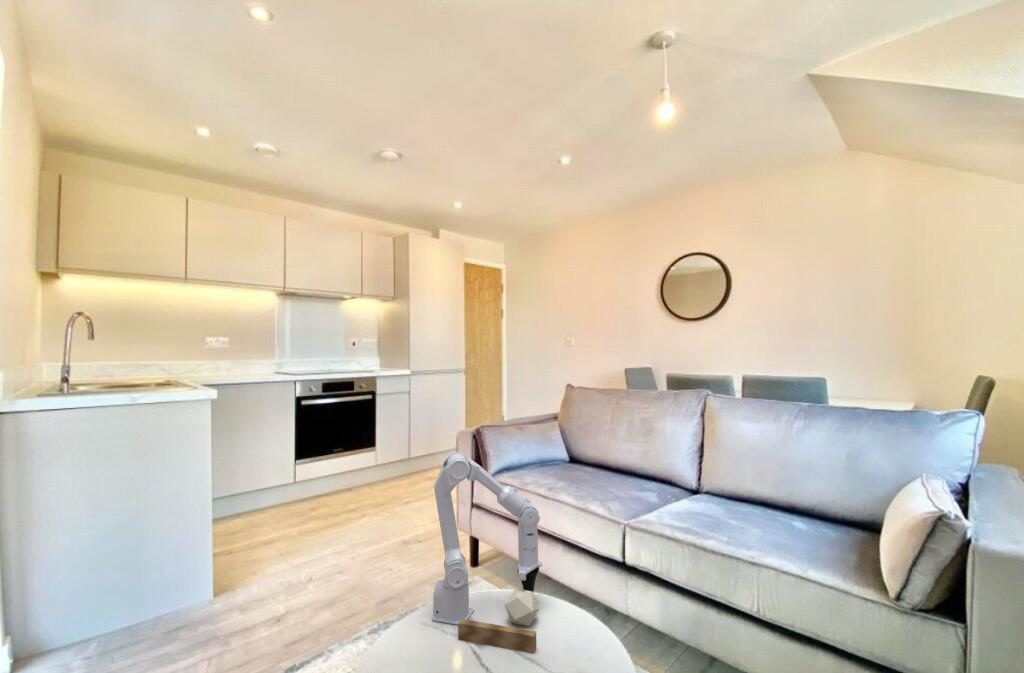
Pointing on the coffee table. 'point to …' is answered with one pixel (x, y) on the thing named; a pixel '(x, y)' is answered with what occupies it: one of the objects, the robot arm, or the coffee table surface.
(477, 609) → the coffee table surface
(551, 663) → the coffee table surface
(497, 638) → the walnut board
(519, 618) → the die
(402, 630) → the coffee table surface
